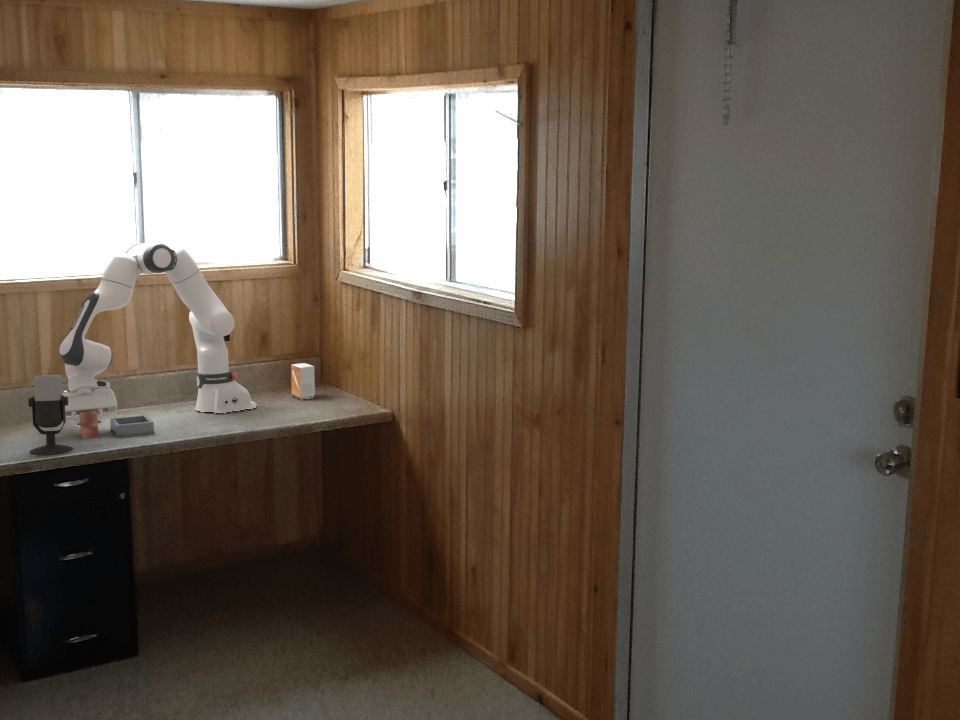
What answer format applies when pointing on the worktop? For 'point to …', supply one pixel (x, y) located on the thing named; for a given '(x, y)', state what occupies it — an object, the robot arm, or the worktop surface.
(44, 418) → the microphone
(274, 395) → the worktop surface
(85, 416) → the red block
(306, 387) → the small box
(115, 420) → the bin
